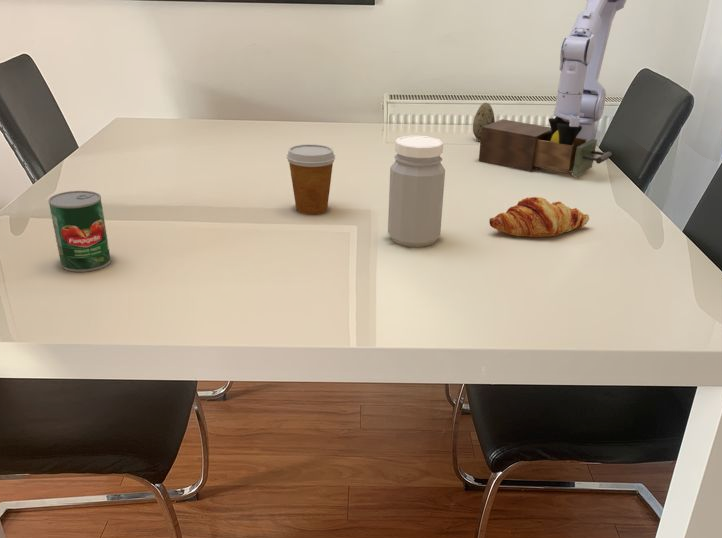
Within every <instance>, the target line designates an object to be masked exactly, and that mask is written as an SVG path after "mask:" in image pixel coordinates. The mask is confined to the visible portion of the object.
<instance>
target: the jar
mask: <svg viewBox="0 0 722 538" xmlns="http://www.w3.org/2000/svg"><path fill="white" fill-rule="evenodd" d="M394 152H395V153H396V154H395V155H394V161H393V162H392V164H391V165H390V168H389V191H388V192H389V193H388V213H387V214H388V217H387V233H388V235H389V237H390V238H391V239H392V241H393V242H394V243H396V244H398V245H400V246H405V247H410V248H418V247H419V248H422V247H428V246H430V245H431V246H432V245H433V244H434V243H435V242H436V241H437V240H438V238H440V236H441V232H442V231H441V230H442V219H443V218H442V217H443V206H444V191H445V180H446V179H445V178H446V169H445V167H444V165H443V163H441V162H443V158H442V157H441V155H442V154H443V153H444V142H443V141H441V139H439V138H436V137H433V136H426V135H405V136H400V137H398V138H397V139H395V141H394Z"/></svg>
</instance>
